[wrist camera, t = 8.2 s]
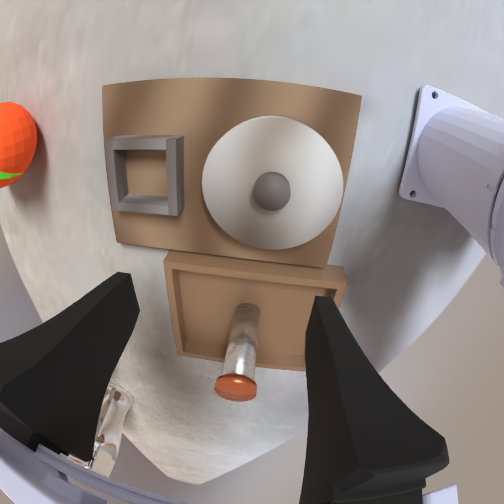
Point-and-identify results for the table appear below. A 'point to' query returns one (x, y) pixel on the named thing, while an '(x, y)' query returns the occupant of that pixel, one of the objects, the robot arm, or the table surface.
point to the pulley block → (229, 166)
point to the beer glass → (108, 431)
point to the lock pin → (240, 356)
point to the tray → (245, 291)
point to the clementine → (15, 142)
